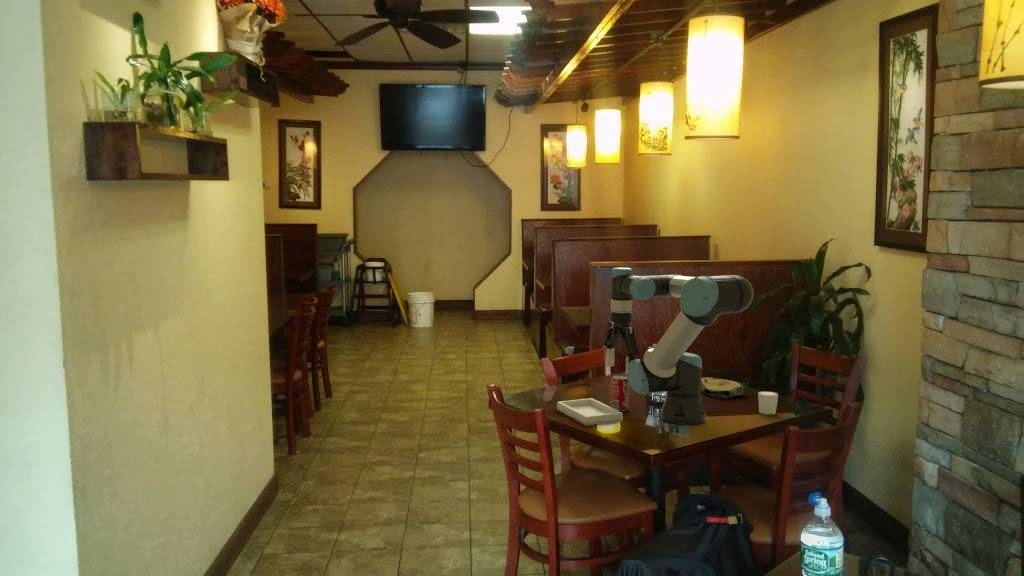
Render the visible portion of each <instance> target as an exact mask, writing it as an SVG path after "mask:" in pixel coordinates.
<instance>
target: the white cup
mask: <svg viewBox="0 0 1024 576" xmlns="http://www.w3.org/2000/svg"><path fill="white" fill-rule="evenodd" d="M757 397H758V413H759V414H761V415H768V414H769V415H771V414H773V415H775V414H776V413H777V412H776V411H777V407H778V399H779V394H778V392H774V391H767V390H765V391H758V392H757ZM769 415H768V416H769Z"/></svg>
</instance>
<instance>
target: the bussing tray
mask: <svg viewBox="0 0 1024 576" xmlns="http://www.w3.org/2000/svg"><path fill="white" fill-rule="evenodd" d="M556 403H557V404H556V405H557V406H556V410H557V411H559V412H560V413H562V414H563V415H565V416H568V417H570V418H571V419H573V420H575V421H577V422H578V423H580V424H582V425H584V426H585V427H588V426H596V425H595V424H597V425H603V423H605V424H612V422H614V423H621V422H623V418H624V416H623V415H624V413H623V411H622V412H620V411H618V410H616V409H613V408H611V407H610V405H607V404H605V403H603V402H601V401H599V400H597V399H595V398H591V397H589V398H582V399H581V398H580V399H572V400H562V401H561V400H560V401H557V402H556Z"/></svg>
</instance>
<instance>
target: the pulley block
mask: <svg viewBox="0 0 1024 576" xmlns="http://www.w3.org/2000/svg"><path fill="white" fill-rule="evenodd" d="M748 391H750V392H751V391H753V389H751V388H748V387H746V384H741V383H739V382H737V381H735V380H728V379H722V378H716V377H710V376H709V377H701V393H703V394H704V396H709V397H712V398H716V399H717V398H718V399H729V398H732V397H735V396H740V397H741V395H743V394H744V393H745V392H748Z"/></svg>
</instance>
